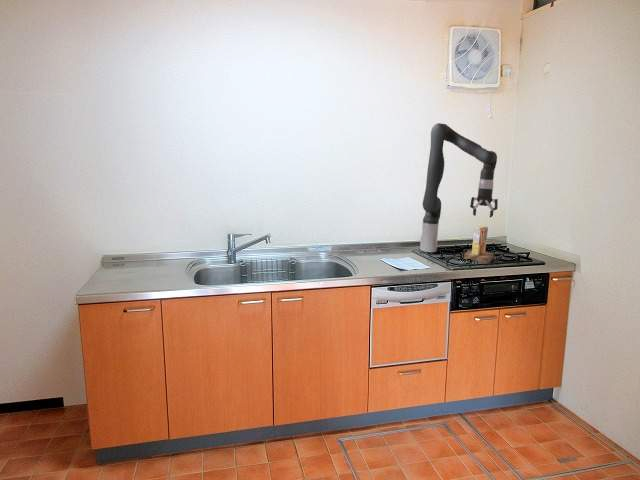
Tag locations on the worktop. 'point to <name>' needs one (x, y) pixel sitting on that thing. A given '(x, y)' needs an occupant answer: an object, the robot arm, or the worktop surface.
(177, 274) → the worktop surface
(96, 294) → the worktop surface
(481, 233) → the candy box
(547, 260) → the worktop surface
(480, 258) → the walnut base
